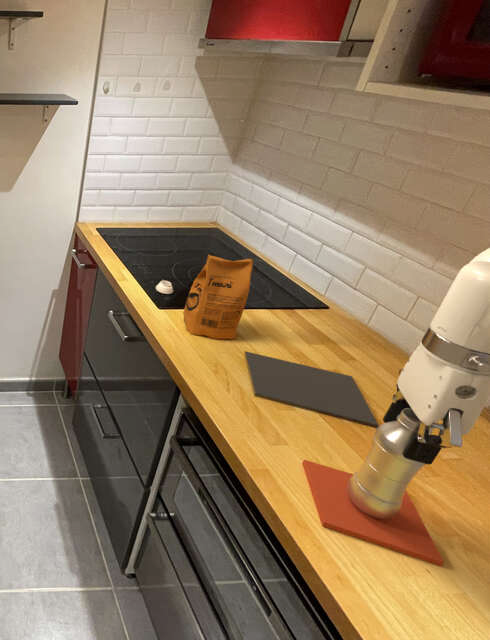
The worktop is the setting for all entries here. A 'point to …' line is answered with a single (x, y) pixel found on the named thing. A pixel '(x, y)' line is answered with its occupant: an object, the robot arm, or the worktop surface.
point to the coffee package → (218, 298)
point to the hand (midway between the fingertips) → (405, 440)
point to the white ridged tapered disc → (164, 287)
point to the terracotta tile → (368, 516)
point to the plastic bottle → (386, 468)
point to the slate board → (308, 388)
